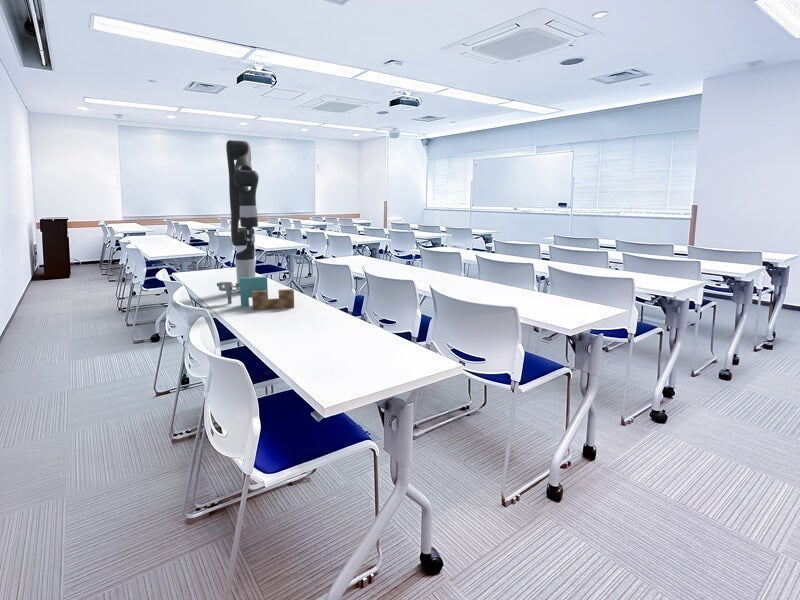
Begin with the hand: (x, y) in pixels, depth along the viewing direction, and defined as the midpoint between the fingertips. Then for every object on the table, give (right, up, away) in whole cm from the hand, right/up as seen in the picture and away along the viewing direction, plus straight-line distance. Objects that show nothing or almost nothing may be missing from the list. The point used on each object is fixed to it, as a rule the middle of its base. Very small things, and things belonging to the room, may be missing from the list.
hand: (251, 252), depth 216 cm
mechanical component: (-12, -24, +6) cm, 27 cm away
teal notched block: (+1, -24, +4) cm, 24 cm away
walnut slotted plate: (+11, -25, -1) cm, 27 cm away
